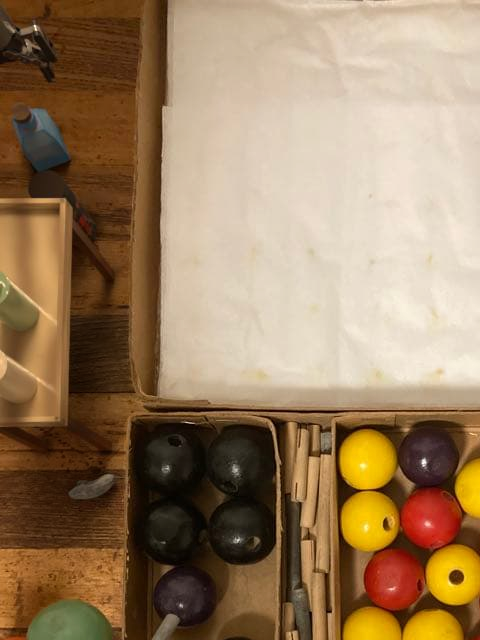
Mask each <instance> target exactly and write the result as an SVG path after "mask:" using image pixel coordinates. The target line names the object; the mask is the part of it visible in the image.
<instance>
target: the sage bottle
mask: <svg viewBox="0 0 480 640" xmlns="http://www.w3.org/2000/svg"><path fill="white" fill-rule="evenodd" d="M38 318H39V308H38V305H37V303H36V302H35V301H34V300H33V299H32V298H31V297H30V296H29V295H27V294H26V293H25V292H24V291H23V290H22V289H21V288H20V287H19V286H17V285H16V284H15V283H14V282H13V281H12V280H11V279H10V278H9V277H7V276H6V275H5V274H4V273H3V272H2V271H0V322H1V323H3V324H4V325H5V326H7V327H8V328H9V329H11V330H13V331H18V332H22V331H26V330H29V329H30V328H32V327H33V326H34V325H35V324H36V323H37V321H38Z"/></svg>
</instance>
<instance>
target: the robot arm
mask: <svg viewBox="0 0 480 640" xmlns="http://www.w3.org/2000/svg"><path fill="white" fill-rule="evenodd" d="M29 24H30V25H29V26H27V27H23V28H21V27H20V26H18V25H16V24H15V23H14V21H13V19H12V18H11V16H10V15H9V13H8V12H7V10H6V8H5V7H4V5H3V4H2V2H1V1H0V66H2V65H4V64H5V63H6V64H7V63H14V62H20V63H22V64H25V65H27V66H30V65H33V66H36V67H38V68H39V70H40V72H41V74H42V75H43V77H44V78H45V80H46V81H47V83H48V84H51V83H54V79H55V78H56V74H55V70H54V66H53V65H52V63H53V64H55V63H57V62H58V56H57V53H56V48H55V44H54V42H53V41H52V40H51V38H50V37H49V35H48V33H47V32H46V30H45V29H44V28H43V26H42V25H41V23H40V22H39V21H38V20H37V19H32V20H30V22H29Z"/></svg>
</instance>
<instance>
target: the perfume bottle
mask: <svg viewBox="0 0 480 640" xmlns="http://www.w3.org/2000/svg"><path fill="white" fill-rule="evenodd" d="M9 112H10V113H9V114H10V116H11V118H12V119H11V125H12V127H13V130H14V132H15V134H16V137H17V140H18V143H19V146H20V147H21V150H22V153H23V154H24V156H25V157H26V159H27V160H28V161H29V162H30V163H31V165H32V166H33V167H34V168H35V170H36V171H37V173H38V172H40V171H44V170H49V169H50V168H53V167H56V166H59V165H61V164H64V163H67V162H69V161H71V160H72V159H71V157H70V154H69V152H68V149H67V147H66V143H65V142H64V139H63V136H62V133H61V131H60V129H59V127H58V126H57V124H56V123H55V122H54V120H53V119H52V118H51V115H50V114H49V113H48V111H47V110H46V109H45V108H37V107H35V108H31V107H29V106H28V104H27V103H25V102H21V101H18V102H15V103H13V104H12V106H11V108H10V109H9Z"/></svg>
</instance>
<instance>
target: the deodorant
mask: <svg viewBox="0 0 480 640" xmlns="http://www.w3.org/2000/svg"><path fill="white" fill-rule="evenodd" d="M27 190H28V195H29V198H66V200H67V201H68V202H69V204H70V205H71V206H72V208H73V217H72V218H73V219H74V221H75V222H76V223H77V224H78V226H79V227H80V228H81V229H82V231H83V232H84V233H85V234H86V236H87V237H88V238H89V240H90V241H91V242H92V243H93V241H94V239H96V236H97V234H98V233H97V232H98V227H97V224H96V222H95V220H94V219H93V217H92V216H91V214H89V211H87V210H86V208H85V207H84V205H83V204H82V203H81V201H80V200H79V199H78V198H77V196H76V195H75V193H74V192H73V190H72V189H71V188H70V186H69V185H68V184H67V182H66V181H65V180H64V178H63V177H62V176H61V175H60V174H59V173H58V172H56V171H53V170H50V169H46V170H43V171H40V172H38V171H37V172H36V173H35V174H33V175H32V177H31V178H30V179H29V182H28V184H27ZM72 246H75V247H78V246H77V245H76V244H75V243H74V241H73V240H72Z"/></svg>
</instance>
